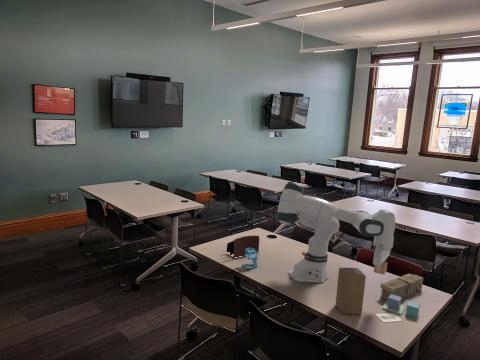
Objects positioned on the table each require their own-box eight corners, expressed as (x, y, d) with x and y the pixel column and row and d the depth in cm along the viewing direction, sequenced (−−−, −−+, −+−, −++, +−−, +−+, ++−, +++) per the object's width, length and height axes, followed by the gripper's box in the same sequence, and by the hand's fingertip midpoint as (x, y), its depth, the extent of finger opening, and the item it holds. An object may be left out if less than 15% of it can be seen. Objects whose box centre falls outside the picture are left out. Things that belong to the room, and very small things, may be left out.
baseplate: (401, 315, 173) (403, 303, 173) (382, 308, 178) (383, 298, 178) (405, 307, 181) (406, 296, 180) (386, 302, 186) (387, 291, 185)
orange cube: (384, 274, 178) (385, 265, 178) (373, 272, 181) (374, 262, 180) (386, 271, 182) (387, 262, 182) (376, 269, 185) (377, 259, 184)
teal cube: (416, 318, 172) (418, 308, 171) (405, 314, 174) (406, 305, 174) (418, 313, 176) (419, 304, 175) (407, 310, 178) (408, 301, 178)
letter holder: (258, 254, 244) (260, 234, 242) (233, 259, 234) (234, 238, 231) (250, 249, 252) (251, 230, 250) (226, 254, 242) (227, 234, 240)
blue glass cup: (259, 268, 220) (260, 250, 218) (246, 270, 217) (247, 251, 215) (254, 264, 227) (255, 245, 226) (242, 265, 224) (243, 246, 223)
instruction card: (383, 322, 166) (383, 321, 166) (374, 314, 173) (374, 313, 173) (402, 321, 168) (402, 320, 168) (393, 313, 175) (393, 312, 175)
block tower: (408, 286, 208) (378, 297, 191) (410, 272, 207) (380, 282, 190) (421, 292, 202) (391, 303, 185) (424, 278, 200) (394, 288, 184)
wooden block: (334, 304, 181) (338, 266, 177) (354, 304, 181) (358, 267, 178) (342, 315, 171) (346, 275, 168) (362, 315, 172) (366, 275, 168)
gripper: (385, 249, 169) (381, 277, 171) (394, 239, 186) (391, 264, 188) (371, 246, 172) (368, 273, 175) (381, 236, 189) (378, 261, 191)
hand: (380, 268), depth 182 cm, fingers closed on orange cube, 5 cm apart
